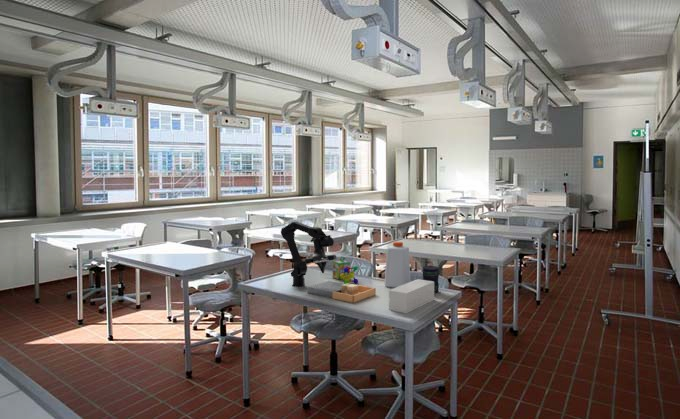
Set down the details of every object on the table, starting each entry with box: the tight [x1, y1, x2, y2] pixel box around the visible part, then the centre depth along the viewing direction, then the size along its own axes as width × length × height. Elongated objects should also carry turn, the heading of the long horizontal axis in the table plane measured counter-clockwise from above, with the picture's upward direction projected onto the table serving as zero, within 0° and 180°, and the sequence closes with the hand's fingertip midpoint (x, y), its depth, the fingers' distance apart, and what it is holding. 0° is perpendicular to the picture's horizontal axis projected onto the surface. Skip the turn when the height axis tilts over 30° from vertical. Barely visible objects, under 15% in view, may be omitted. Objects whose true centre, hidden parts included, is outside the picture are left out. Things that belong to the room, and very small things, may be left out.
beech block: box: [341, 282, 359, 295], centre depth 275 cm, size 6×6×8 cm
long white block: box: [388, 278, 435, 314], centre depth 256 cm, size 32×11×11 cm, turn 142°
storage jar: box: [422, 265, 440, 295], centre depth 284 cm, size 10×10×15 cm
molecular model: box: [340, 265, 359, 284], centre depth 304 cm, size 12×7×12 cm, turn 130°
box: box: [332, 284, 377, 304], centre depth 273 cm, size 15×22×4 cm
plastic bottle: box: [384, 241, 412, 289], centre depth 298 cm, size 15×15×28 cm
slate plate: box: [307, 280, 344, 299], centre depth 284 cm, size 20×20×4 cm
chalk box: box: [332, 256, 351, 281], centre depth 320 cm, size 9×9×15 cm
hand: (323, 273), depth 287 cm, fingers closed
